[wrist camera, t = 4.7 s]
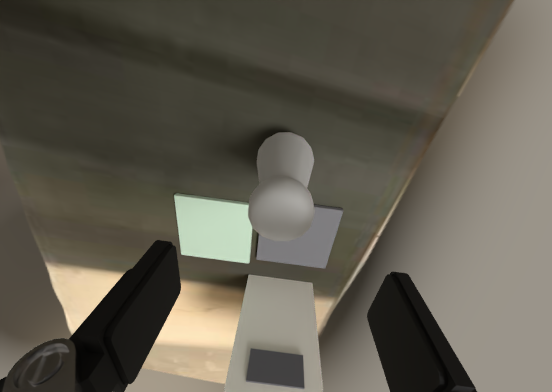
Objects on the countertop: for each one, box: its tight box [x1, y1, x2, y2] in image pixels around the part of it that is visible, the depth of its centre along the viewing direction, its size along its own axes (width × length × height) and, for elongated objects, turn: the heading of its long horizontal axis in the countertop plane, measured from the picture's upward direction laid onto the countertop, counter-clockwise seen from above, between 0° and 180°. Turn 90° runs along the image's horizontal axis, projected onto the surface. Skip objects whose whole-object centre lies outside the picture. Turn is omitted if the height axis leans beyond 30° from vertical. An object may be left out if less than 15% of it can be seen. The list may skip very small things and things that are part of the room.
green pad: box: [174, 193, 252, 263], centre depth 30 cm, size 10×10×1 cm
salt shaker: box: [248, 132, 315, 241], centre depth 19 cm, size 6×6×13 cm
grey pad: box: [257, 205, 343, 268], centre depth 30 cm, size 10×10×1 cm
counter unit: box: [224, 275, 323, 392], centre depth 29 cm, size 7×10×16 cm, turn 83°
